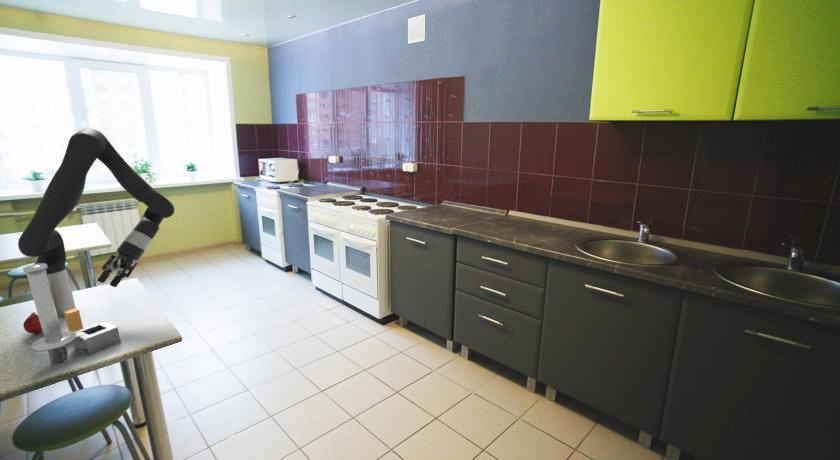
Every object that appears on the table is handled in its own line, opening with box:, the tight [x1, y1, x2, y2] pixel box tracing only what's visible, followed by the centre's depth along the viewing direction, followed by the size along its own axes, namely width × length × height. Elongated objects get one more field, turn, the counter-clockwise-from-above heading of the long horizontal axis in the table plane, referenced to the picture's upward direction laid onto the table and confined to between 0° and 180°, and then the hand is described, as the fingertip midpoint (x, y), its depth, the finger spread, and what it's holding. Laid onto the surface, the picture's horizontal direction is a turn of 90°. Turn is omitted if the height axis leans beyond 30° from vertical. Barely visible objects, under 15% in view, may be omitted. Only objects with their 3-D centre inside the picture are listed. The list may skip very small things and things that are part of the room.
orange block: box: [64, 308, 84, 332], centre depth 134 cm, size 3×3×9 cm
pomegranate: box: [23, 311, 43, 335], centre depth 135 cm, size 6×6×8 cm
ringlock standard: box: [22, 263, 121, 365], centre depth 121 cm, size 10×20×30 cm, turn 152°
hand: (106, 284), depth 141 cm, fingers open, 8 cm apart
